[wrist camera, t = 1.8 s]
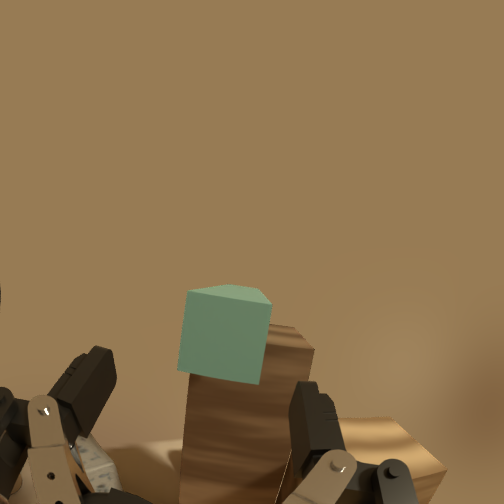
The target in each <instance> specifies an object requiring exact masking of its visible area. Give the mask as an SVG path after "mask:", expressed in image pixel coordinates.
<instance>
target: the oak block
mask: <svg viewBox="0 0 504 504" xmlns="http://www.w3.org/2000/svg"><path fill="white" fill-rule="evenodd" d="M338 421H339V425H340V428H341V432H342V436H343V440H344V444H345V448H346V451H347V452H348V453H350V454H351V455H352V456H353V457H354V458H355V459H356V460H357V461H359V462H363V463H369V464H375V465H380V464H381V463H382V462H383V461H384V460H387V459H398V460H401V461H403V462H404V463H405V464H406V465H407V466H408V468H409V471H410V474H411V477H412V481H413V484H414V488H415V491H416V495H417V498H418V502H419V504H428V503H429V501H430V500H431V498H432V496H433V495H434V493H435V492H436V490H437V488H438V486H439V484H440V483H441V481H442V479H443V477H444V476H445V474H446V472H447V468H446V467H444V466H443V465H442V464H441V463H440V462H439V461H437V459H435V458H434V457H433V456H432V455H431V454H430V453H429V452H428V451H427V450H425V448H423V447H422V446H421V445H420V444H419V443H418V442H417V441H416V440H415V439H414V438H412V437H411V436H410V435H409V434H408V433H407V432H406V431H405V430H404V429H403V428H402V427H401V426H400V425H398V424H397V423H396V422H395V421H394V420H393V419H392V418H391V417H372V418H338ZM301 482H302V478H294V472H293V461H292V451H291V454H290V458H289V461H288V465H287V468H286V471H285V475H284V478H283V481H282V484H281V487H280V490H279V493H278V496H277V499H276V502H275V504H282V503H283V502H284V501H285V500H286V498H287V497H288V496H289V495H290V494H291V493H292V492H294V491H295V489H296V488H297V487H298V486H299V485H300V484H301Z"/></svg>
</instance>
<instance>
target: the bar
mask: <svg viewBox="0 0 504 504" xmlns="http://www.w3.org/2000/svg"><path fill="white" fill-rule="evenodd" d="M271 309H272V304H271V303H270V301H269V300H268V299H267V298H266V297H265V296H264V295H263V294H262V292H261V291H260V290H259V289H256V288H249V287H243V286H236V285H231V284H228V285H221V286H215V287H209V288H202V289H196V290H189V291H187V298H186V305H185V312H184V319H183V327H182V335H181V343H180V350H179V359H178V368H177V370H179V371H183V372H188V373H192V374H197V375H202V376H207V377H213V378H218V379H224V380H230V381H236V382H243V383H250V384H257V385H259V380H260V375H261V369H262V364H263V358H264V352H265V346H266V340H267V335H268V329H269V322H270V316H271Z"/></svg>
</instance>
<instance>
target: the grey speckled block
mask: <svg viewBox="0 0 504 504" xmlns="http://www.w3.org/2000/svg"><path fill="white" fill-rule="evenodd" d="M76 443H77V446H78V449H79V453H80V456H81V459H82V462H83V465H84V468H85V471H86V474H87V477H88V479H89V481H90V483H91V485H92V487H93V489H94V491H95V492H108V493H109V492H110V489H111V487H112V488H115V489H118V490H121V491H123V489H122V485H121V483H120V479H119V476H118V473H117V469H116V466H115V464H114V462H113V460H112V459H111V458H110V457H109V456H108V455H107V453H106V452H105V451H104V450H103V449H102V448H101V446H100V445H99V444H98V443H97V442H96V440H95V439H94V437H93V436H92V434H91V433H90V434H89V436H88V438H87V439H86V438H84V437H81V436H79V435H78V437H77V439H76Z"/></svg>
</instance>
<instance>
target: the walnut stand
mask: <svg viewBox="0 0 504 504" xmlns="http://www.w3.org/2000/svg"><path fill="white" fill-rule="evenodd" d="M314 350H315V349H314V348H313V347H312V346H311V345H310V344H309V343H308V342H307V341H306V340H305V339H304V338H303V337H302V335H301V334H300V333H299V332H298V331H297V330H296V329H295V328H294V327H288V326H280V325H272V324H269V329H268V335H267V340H266V346H265V352H264V358H263V364H262V369H261V375H260V380H259V385H257V384H250V383H243V382H236V381H230V380H224V379H218V378H213V377H207V376H202V375H197V374H192V373H190V378H189V386H188V395H187V405H186V415H185V425H184V436H183V448H182V461H181V475H180V491H179V504H274V503H275V500H276V497H277V494H278V491H279V488H280V485H281V482H282V479H283V475H284V472H285V469H286V466H287V462H288V459H289V455H290V452H291V439H290V428H289V417H288V413H289V405H290V402H291V399H292V396H293V393H294V390H295V387H296V384H297V382H298V381H308V379H309V374H310V369H311V365H312V359H313V355H314Z"/></svg>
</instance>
